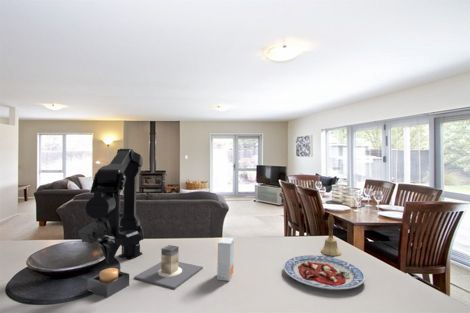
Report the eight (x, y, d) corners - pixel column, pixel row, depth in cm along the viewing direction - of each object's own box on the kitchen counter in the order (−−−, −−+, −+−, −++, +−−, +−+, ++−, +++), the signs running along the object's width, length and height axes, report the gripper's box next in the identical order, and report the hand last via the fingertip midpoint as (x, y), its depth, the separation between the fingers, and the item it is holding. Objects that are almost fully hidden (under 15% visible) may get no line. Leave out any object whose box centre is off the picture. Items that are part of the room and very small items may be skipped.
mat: (134, 278, 85) (134, 276, 85) (166, 260, 100) (166, 258, 100) (174, 289, 79) (174, 286, 79) (202, 268, 93) (202, 266, 93)
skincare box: (229, 281, 84) (230, 243, 84) (216, 280, 85) (217, 242, 85) (233, 273, 90) (234, 238, 90) (221, 272, 91) (222, 237, 91)
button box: (87, 291, 77) (87, 279, 77) (110, 279, 84) (110, 268, 84) (107, 297, 73) (107, 285, 73) (129, 285, 81) (129, 273, 81)
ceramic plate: (276, 285, 82) (276, 276, 82) (290, 256, 106) (290, 249, 106) (368, 303, 72) (368, 293, 72) (361, 267, 96) (361, 259, 96)
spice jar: (161, 272, 88) (161, 248, 88) (168, 267, 92) (169, 244, 92) (170, 274, 86) (171, 250, 86) (178, 270, 90) (178, 246, 90)
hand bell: (316, 251, 111) (317, 214, 111) (327, 247, 116) (327, 211, 116) (335, 257, 105) (335, 217, 105) (345, 253, 110) (345, 214, 110)
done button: (95, 281, 77) (95, 273, 77) (110, 274, 82) (110, 266, 82) (107, 285, 75) (107, 276, 75) (121, 278, 80) (121, 269, 80)
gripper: (62, 212, 75) (61, 267, 75) (109, 220, 67) (108, 281, 68) (97, 206, 85) (96, 254, 85) (141, 211, 78) (140, 264, 78)
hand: (109, 262), depth 79 cm, fingers closed
